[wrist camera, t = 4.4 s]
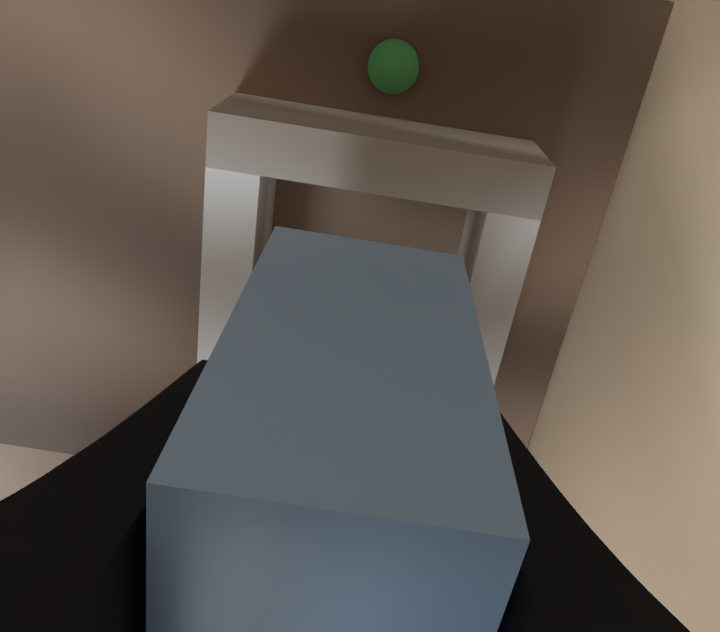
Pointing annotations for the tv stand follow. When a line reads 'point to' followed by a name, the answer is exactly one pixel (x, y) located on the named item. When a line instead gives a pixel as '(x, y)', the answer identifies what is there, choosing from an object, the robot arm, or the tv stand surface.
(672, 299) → the tv stand surface
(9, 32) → the brown tray
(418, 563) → the plug
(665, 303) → the tv stand surface
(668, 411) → the tv stand surface
